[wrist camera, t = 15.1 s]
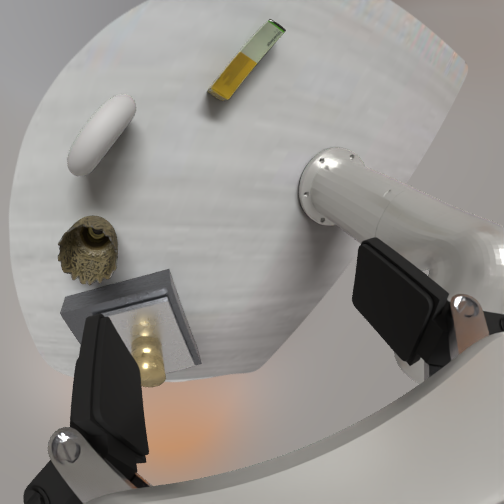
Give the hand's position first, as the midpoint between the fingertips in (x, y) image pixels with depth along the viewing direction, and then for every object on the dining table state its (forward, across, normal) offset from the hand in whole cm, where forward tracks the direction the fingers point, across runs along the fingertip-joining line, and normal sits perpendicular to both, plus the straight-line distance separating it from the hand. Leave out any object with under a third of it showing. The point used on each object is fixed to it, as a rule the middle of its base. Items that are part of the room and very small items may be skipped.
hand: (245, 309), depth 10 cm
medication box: (+29, -10, -12) cm, 32 cm away
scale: (+28, +14, +24) cm, 40 cm away
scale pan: (+24, +12, +24) cm, 36 cm away
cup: (+28, +13, +6) cm, 32 cm away
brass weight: (+23, +12, +24) cm, 35 cm away
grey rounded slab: (+28, +8, -6) cm, 30 cm away
